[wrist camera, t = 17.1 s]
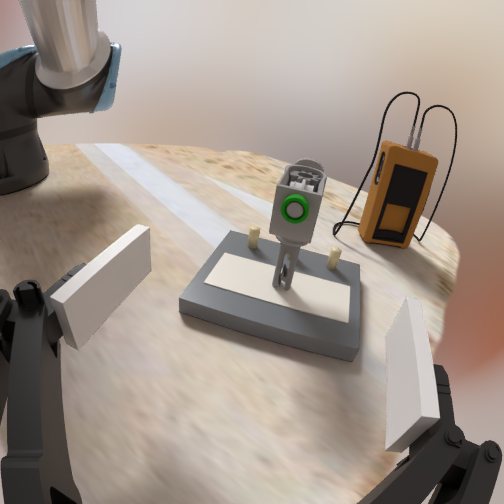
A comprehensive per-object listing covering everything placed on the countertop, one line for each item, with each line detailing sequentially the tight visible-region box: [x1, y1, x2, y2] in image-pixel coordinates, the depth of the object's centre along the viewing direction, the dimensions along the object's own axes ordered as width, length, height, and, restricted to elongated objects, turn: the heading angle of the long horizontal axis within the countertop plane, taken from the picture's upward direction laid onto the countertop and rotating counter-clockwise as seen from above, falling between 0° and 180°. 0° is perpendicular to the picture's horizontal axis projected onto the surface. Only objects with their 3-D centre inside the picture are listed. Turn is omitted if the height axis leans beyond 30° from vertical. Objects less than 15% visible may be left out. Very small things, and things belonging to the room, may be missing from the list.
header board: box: [179, 226, 360, 362], centre depth 28 cm, size 14×12×4 cm
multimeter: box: [333, 92, 457, 248], centre depth 38 cm, size 15×10×20 cm
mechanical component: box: [269, 158, 327, 291], centre depth 24 cm, size 3×10×10 cm, turn 166°
